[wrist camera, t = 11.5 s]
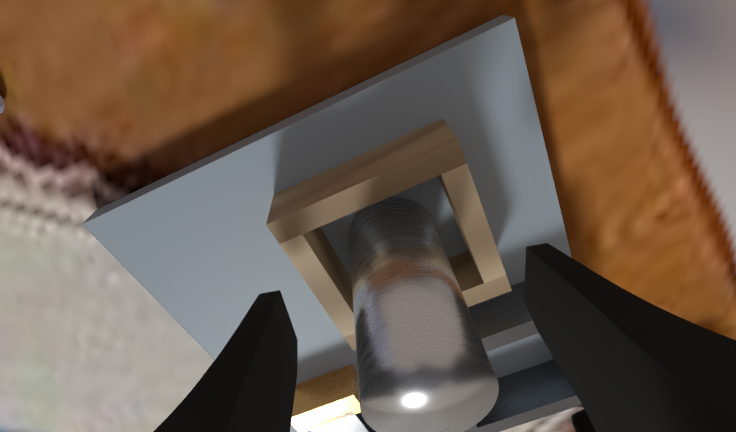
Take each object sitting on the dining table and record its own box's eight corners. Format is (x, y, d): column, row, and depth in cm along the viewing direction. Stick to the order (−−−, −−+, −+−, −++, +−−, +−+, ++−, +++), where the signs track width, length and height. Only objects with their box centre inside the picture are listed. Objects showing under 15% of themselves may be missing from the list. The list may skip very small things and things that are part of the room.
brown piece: (273, 194, 14) (265, 224, 13) (442, 118, 13) (458, 139, 12) (351, 313, 17) (353, 350, 16) (493, 257, 16) (511, 290, 15)
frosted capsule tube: (330, 235, 15) (330, 404, 9) (395, 179, 14) (441, 327, 8) (388, 282, 17) (420, 457, 11) (451, 234, 16) (524, 395, 10)
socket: (264, 379, 19) (258, 420, 17) (551, 270, 17) (576, 304, 15) (349, 472, 23) (351, 512, 22) (585, 395, 21) (607, 431, 20)
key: (289, 387, 19) (286, 419, 18) (351, 364, 19) (353, 394, 18) (344, 450, 22) (345, 482, 21) (400, 431, 22) (404, 462, 20)
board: (96, 209, 15) (82, 224, 14) (502, 14, 13) (514, 17, 12) (331, 462, 25) (331, 480, 24) (592, 374, 22) (603, 390, 21)
